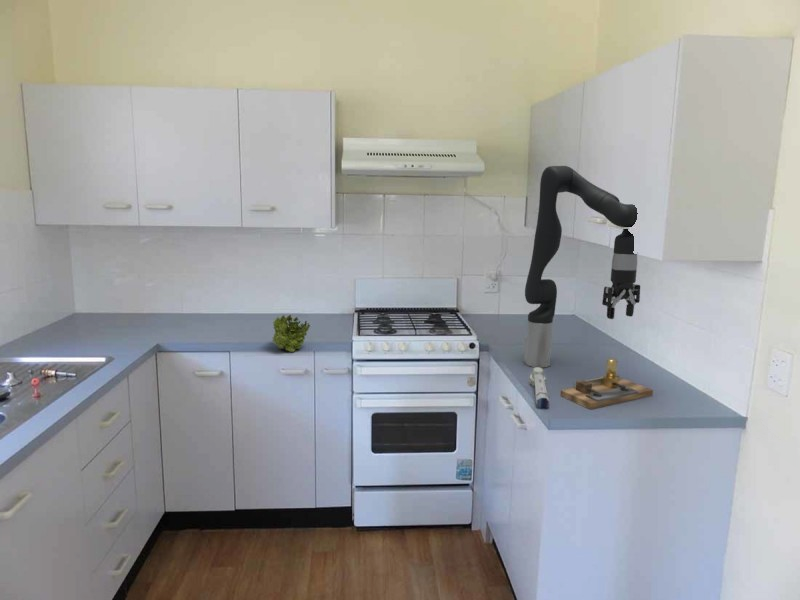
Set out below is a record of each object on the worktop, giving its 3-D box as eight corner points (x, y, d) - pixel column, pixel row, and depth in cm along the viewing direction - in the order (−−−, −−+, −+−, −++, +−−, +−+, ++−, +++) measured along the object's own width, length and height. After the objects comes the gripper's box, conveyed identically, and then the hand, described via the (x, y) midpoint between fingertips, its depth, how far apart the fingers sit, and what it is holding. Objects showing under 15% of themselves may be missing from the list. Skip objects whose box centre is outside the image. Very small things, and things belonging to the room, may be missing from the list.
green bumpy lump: (261, 334, 240) (287, 307, 245) (288, 359, 242) (314, 332, 247) (263, 330, 223) (291, 301, 228) (292, 357, 225) (319, 328, 230)
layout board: (560, 395, 186) (561, 384, 185) (621, 383, 199) (622, 372, 198) (590, 409, 175) (591, 397, 174) (652, 395, 187) (653, 384, 187)
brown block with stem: (575, 389, 186) (576, 381, 185) (582, 388, 187) (583, 379, 187) (593, 397, 179) (594, 388, 178) (600, 396, 180) (601, 387, 180)
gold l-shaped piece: (601, 384, 191) (604, 358, 190) (608, 382, 193) (611, 357, 191) (620, 391, 184) (623, 365, 183) (627, 390, 186) (630, 363, 184)
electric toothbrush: (534, 397, 175) (530, 362, 198) (533, 416, 177) (528, 379, 200) (552, 398, 174) (545, 363, 197) (550, 417, 176) (544, 380, 199)
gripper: (630, 265, 187) (626, 313, 190) (598, 267, 180) (594, 317, 183) (649, 268, 180) (644, 317, 183) (617, 270, 174) (613, 321, 177)
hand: (619, 317), depth 183 cm, fingers open, 8 cm apart
